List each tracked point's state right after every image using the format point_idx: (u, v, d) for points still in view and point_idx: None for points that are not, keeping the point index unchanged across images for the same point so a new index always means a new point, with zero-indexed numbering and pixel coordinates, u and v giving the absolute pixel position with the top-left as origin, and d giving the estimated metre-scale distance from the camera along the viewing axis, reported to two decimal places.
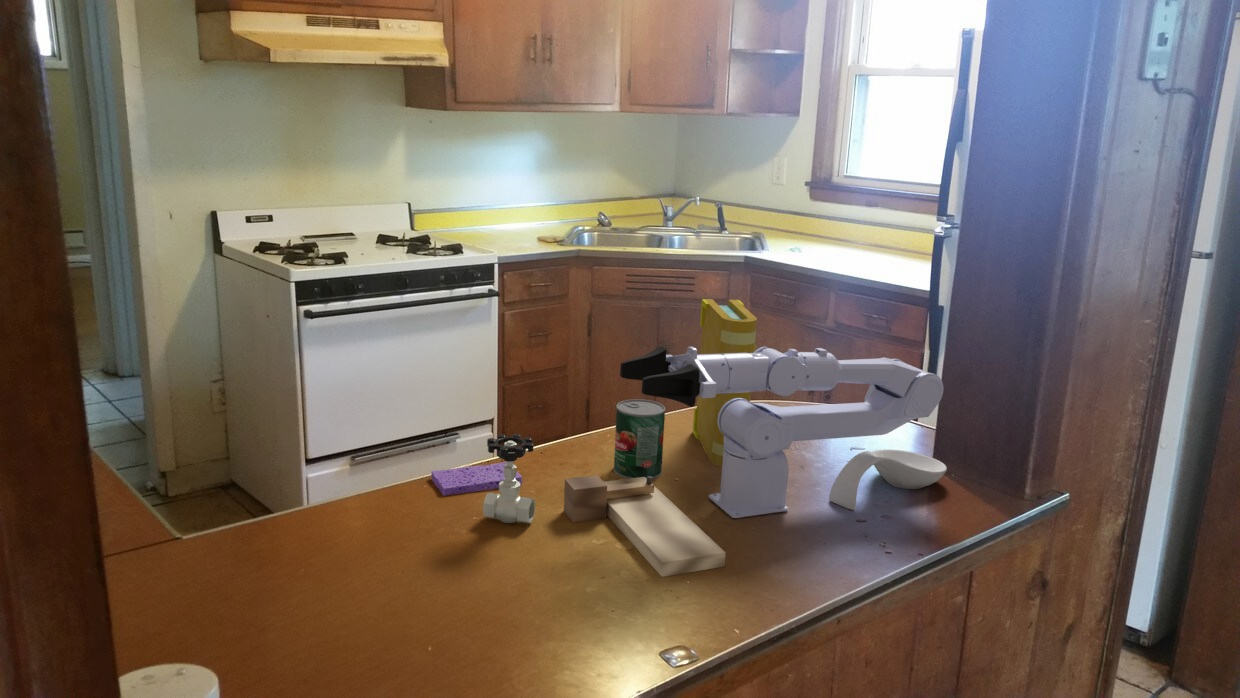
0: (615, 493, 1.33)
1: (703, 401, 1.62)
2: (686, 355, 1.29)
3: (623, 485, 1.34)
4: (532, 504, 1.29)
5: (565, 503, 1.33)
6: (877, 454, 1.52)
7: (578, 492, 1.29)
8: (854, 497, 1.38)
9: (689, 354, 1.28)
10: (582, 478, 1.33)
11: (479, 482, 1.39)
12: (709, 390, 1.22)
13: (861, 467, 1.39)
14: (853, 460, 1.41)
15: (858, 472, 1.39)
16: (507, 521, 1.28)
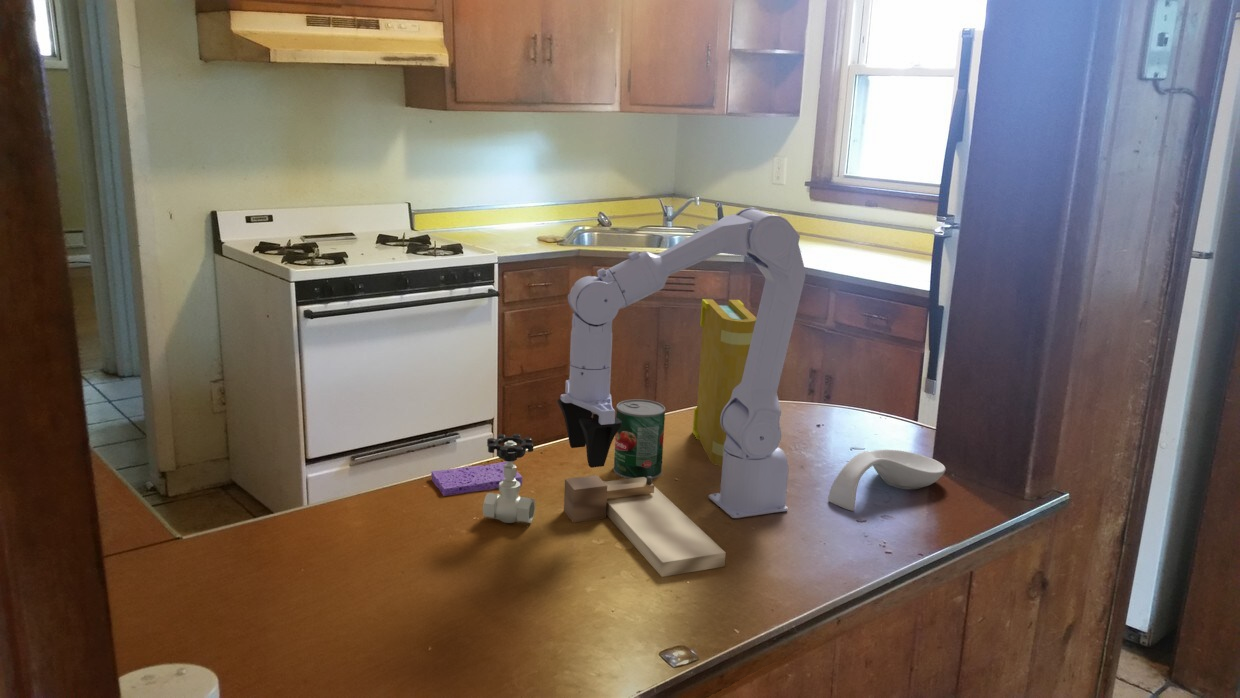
0: (615, 493, 1.33)
1: (703, 401, 1.62)
2: None
3: (623, 485, 1.34)
4: (532, 504, 1.29)
5: (565, 503, 1.33)
6: (876, 454, 1.52)
7: (578, 492, 1.29)
8: (853, 498, 1.38)
9: None
10: (582, 478, 1.33)
11: (479, 482, 1.39)
12: (607, 417, 1.22)
13: (860, 468, 1.39)
14: (852, 461, 1.41)
15: (857, 473, 1.39)
16: (507, 521, 1.28)
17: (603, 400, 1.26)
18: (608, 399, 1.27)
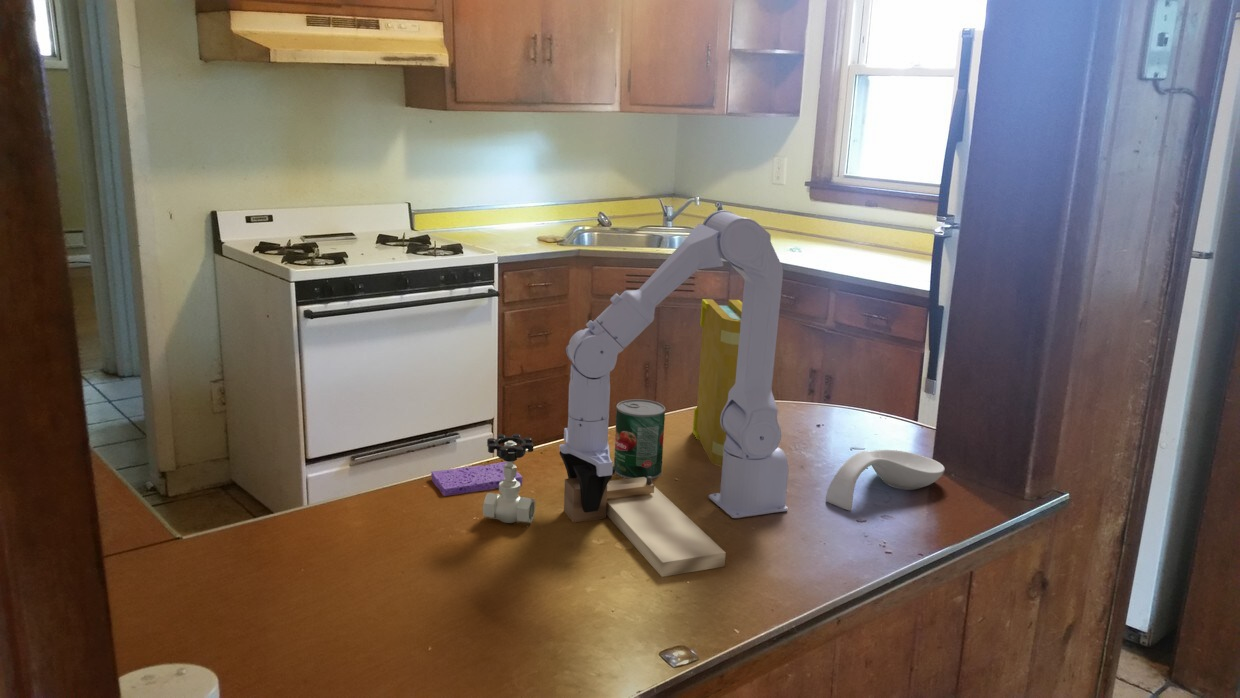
0: (615, 493, 1.33)
1: (703, 401, 1.62)
2: None
3: (623, 485, 1.34)
4: (532, 504, 1.29)
5: (565, 503, 1.33)
6: (875, 454, 1.52)
7: (578, 492, 1.29)
8: (850, 498, 1.38)
9: None
10: None
11: (479, 482, 1.39)
12: (605, 469, 1.24)
13: (858, 467, 1.39)
14: (850, 461, 1.41)
15: (855, 472, 1.39)
16: (507, 521, 1.28)
17: (601, 450, 1.28)
18: (606, 449, 1.28)
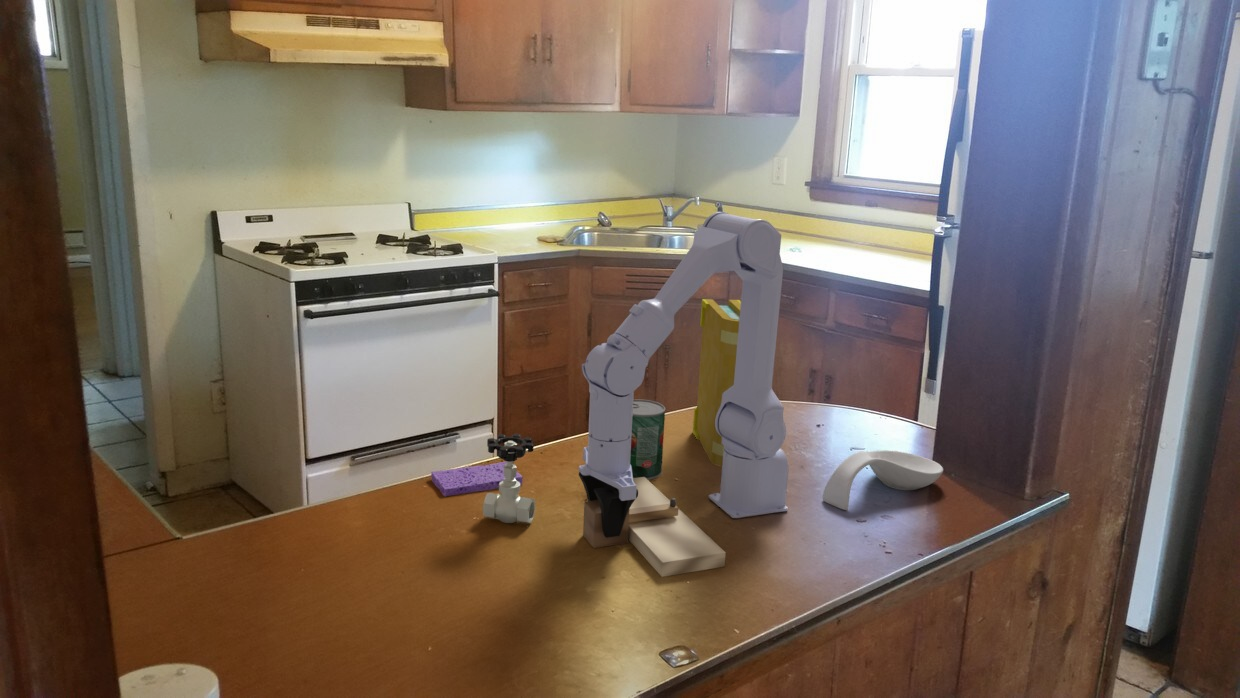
0: (637, 516, 1.26)
1: (703, 401, 1.62)
2: None
3: (645, 508, 1.27)
4: (532, 504, 1.29)
5: (584, 527, 1.25)
6: (874, 455, 1.52)
7: (599, 516, 1.22)
8: (847, 497, 1.38)
9: None
10: None
11: (479, 482, 1.39)
12: (628, 493, 1.16)
13: (854, 467, 1.39)
14: (847, 461, 1.41)
15: (851, 472, 1.39)
16: (507, 521, 1.28)
17: (623, 472, 1.21)
18: (628, 471, 1.21)
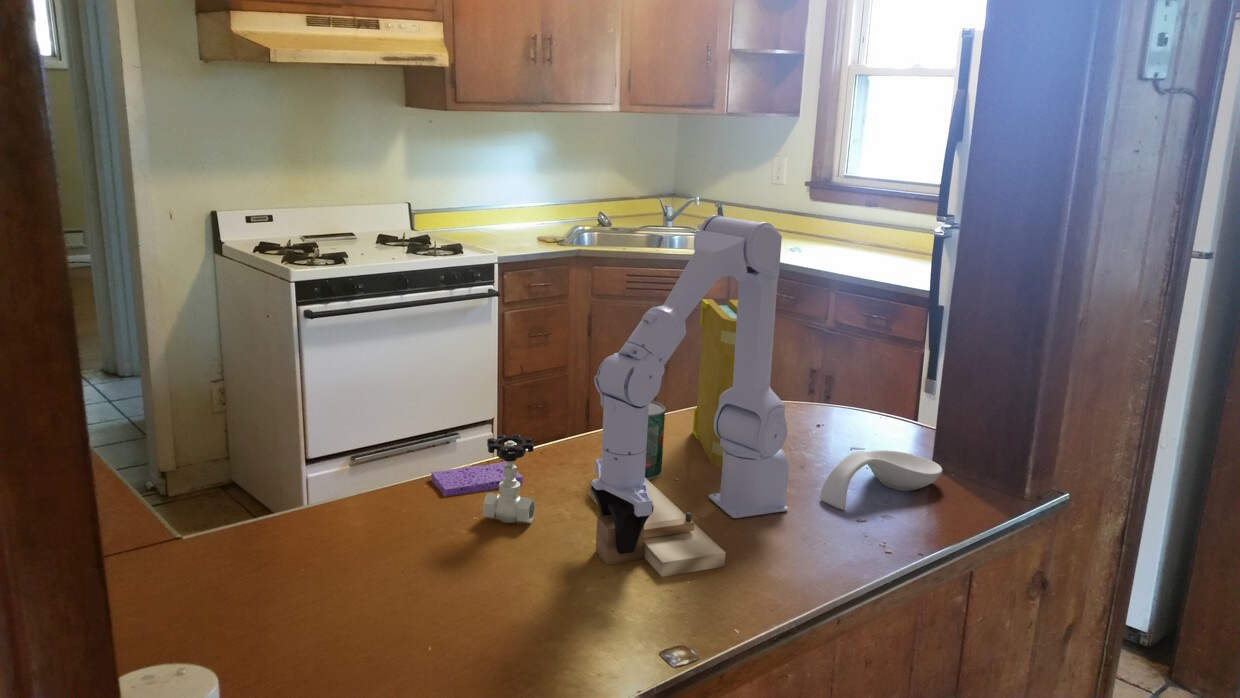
0: (652, 532, 1.21)
1: (703, 401, 1.62)
2: None
3: (660, 522, 1.23)
4: (532, 504, 1.29)
5: (597, 543, 1.21)
6: (873, 455, 1.52)
7: (613, 532, 1.18)
8: (844, 497, 1.38)
9: None
10: None
11: (480, 482, 1.39)
12: (644, 509, 1.12)
13: (852, 467, 1.39)
14: (845, 460, 1.41)
15: (849, 472, 1.39)
16: (507, 521, 1.28)
17: (638, 487, 1.16)
18: (643, 485, 1.17)
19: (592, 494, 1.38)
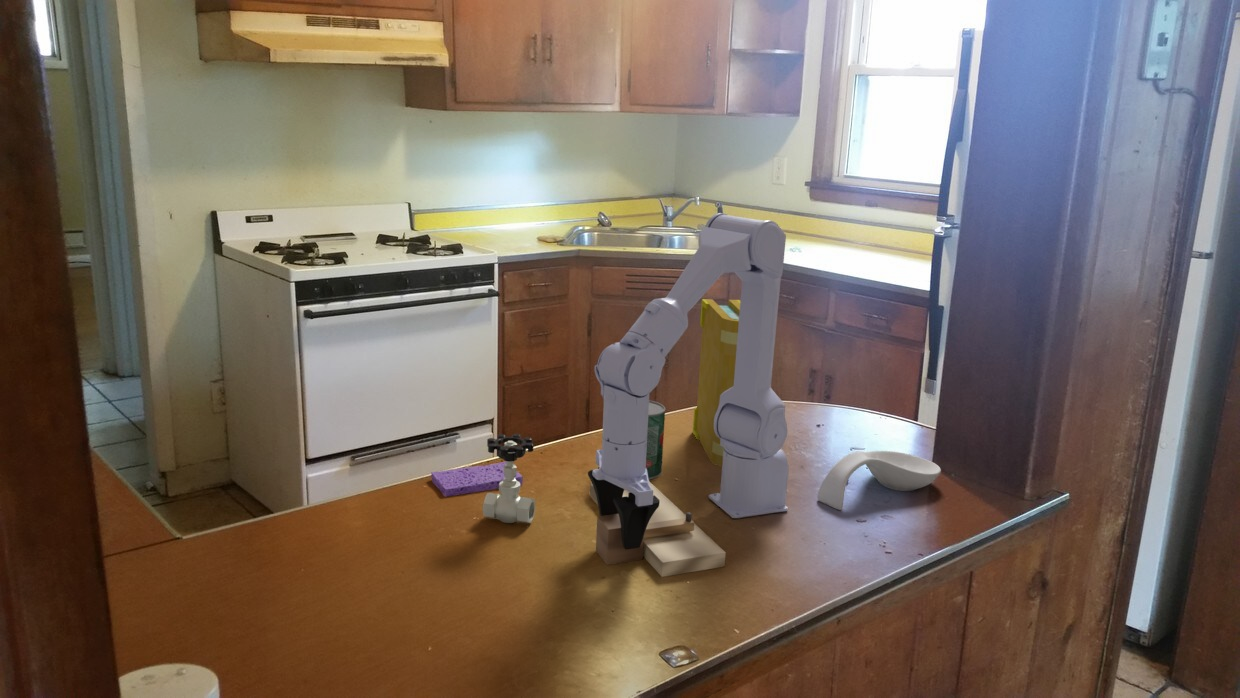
0: (652, 532, 1.21)
1: (703, 401, 1.62)
2: None
3: (660, 522, 1.23)
4: (532, 504, 1.29)
5: (597, 543, 1.21)
6: (871, 455, 1.52)
7: (613, 532, 1.17)
8: (841, 497, 1.38)
9: None
10: (616, 515, 1.21)
11: (480, 482, 1.39)
12: (645, 498, 1.12)
13: (849, 467, 1.39)
14: (842, 460, 1.41)
15: (846, 472, 1.39)
16: (507, 521, 1.28)
17: (639, 476, 1.16)
18: (644, 475, 1.17)
19: (592, 494, 1.38)
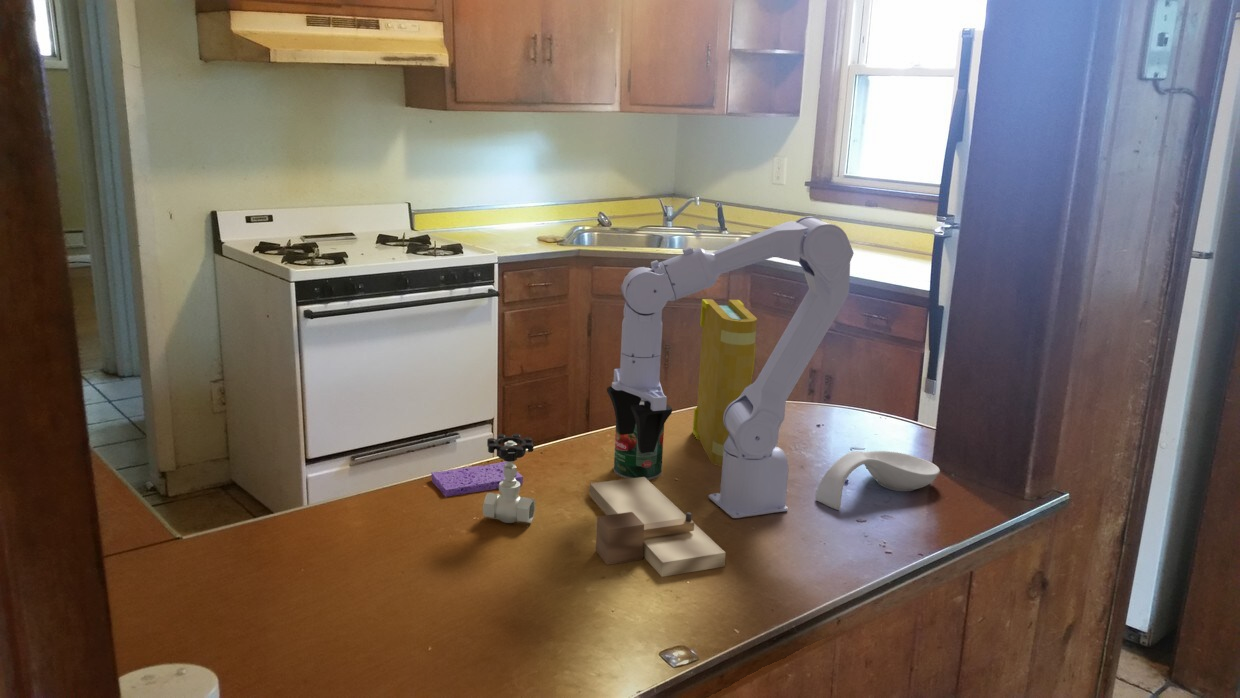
0: (652, 532, 1.21)
1: (703, 401, 1.62)
2: None
3: (660, 522, 1.23)
4: (532, 504, 1.29)
5: (597, 543, 1.21)
6: (870, 455, 1.51)
7: (613, 532, 1.17)
8: (839, 497, 1.38)
9: None
10: (616, 515, 1.21)
11: (480, 483, 1.39)
12: (659, 404, 1.25)
13: (847, 467, 1.39)
14: (840, 460, 1.41)
15: (844, 472, 1.39)
16: (507, 521, 1.28)
17: (653, 387, 1.30)
18: (658, 386, 1.30)
19: (592, 494, 1.38)
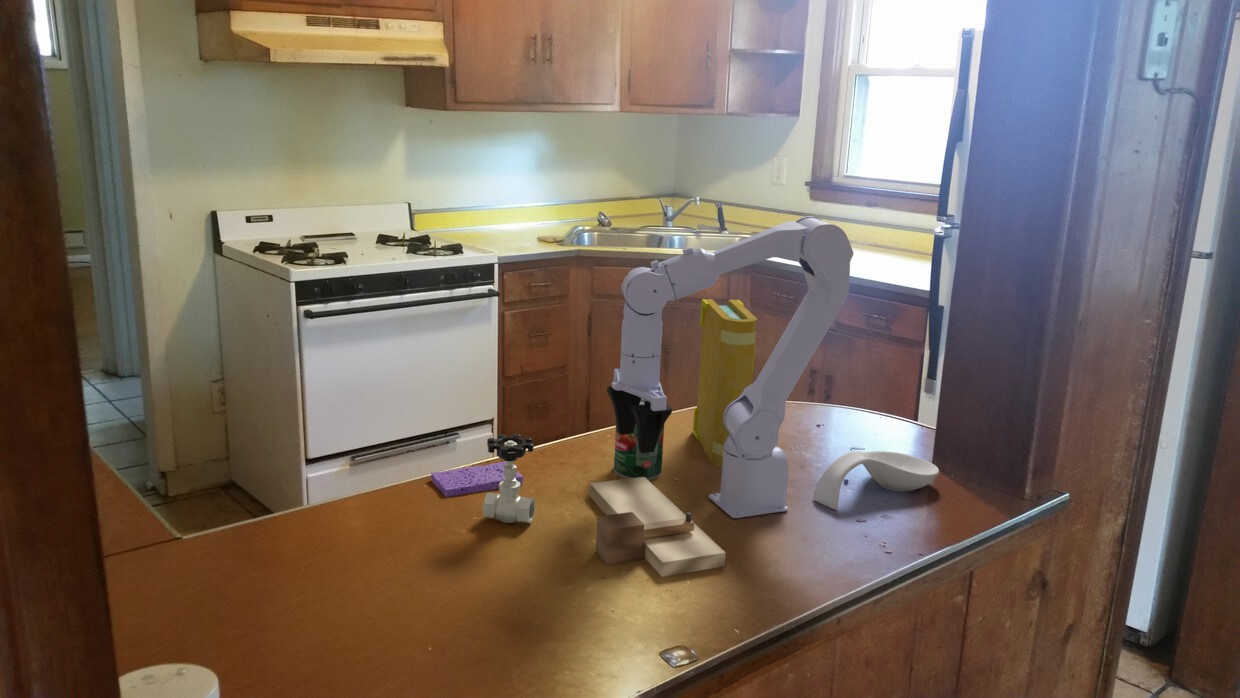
0: (652, 532, 1.21)
1: (703, 401, 1.62)
2: None
3: (660, 522, 1.23)
4: (532, 504, 1.29)
5: (597, 543, 1.21)
6: (870, 455, 1.51)
7: (613, 532, 1.17)
8: (836, 497, 1.38)
9: None
10: (616, 515, 1.21)
11: (480, 483, 1.39)
12: (659, 404, 1.25)
13: (845, 467, 1.39)
14: (838, 460, 1.41)
15: (842, 472, 1.39)
16: (507, 521, 1.28)
17: (653, 387, 1.30)
18: (658, 386, 1.30)
19: (592, 494, 1.38)
